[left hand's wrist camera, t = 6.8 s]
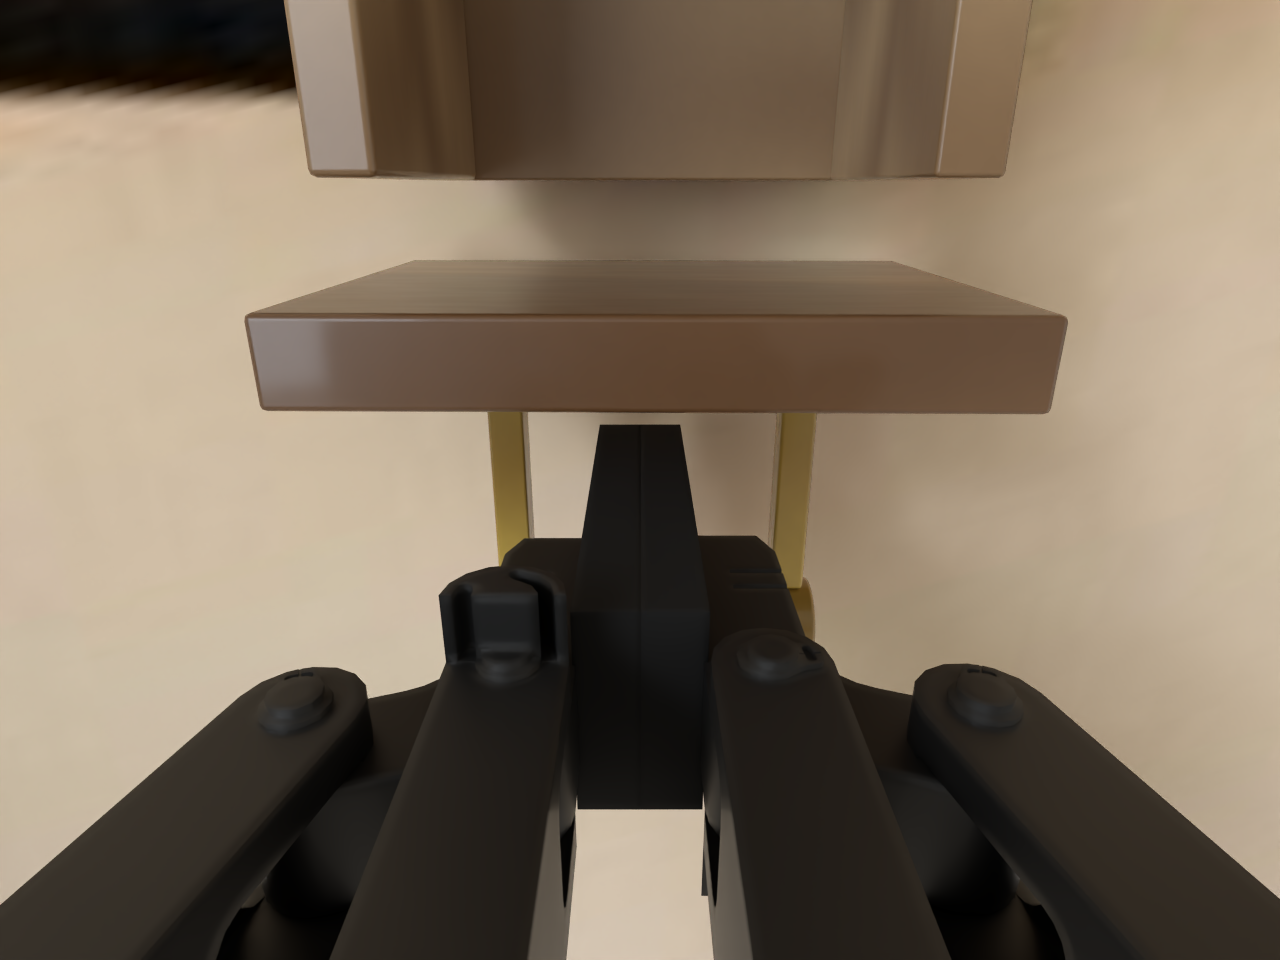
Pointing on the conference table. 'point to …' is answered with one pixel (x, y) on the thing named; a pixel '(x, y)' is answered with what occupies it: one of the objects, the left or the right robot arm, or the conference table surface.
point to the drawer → (657, 150)
